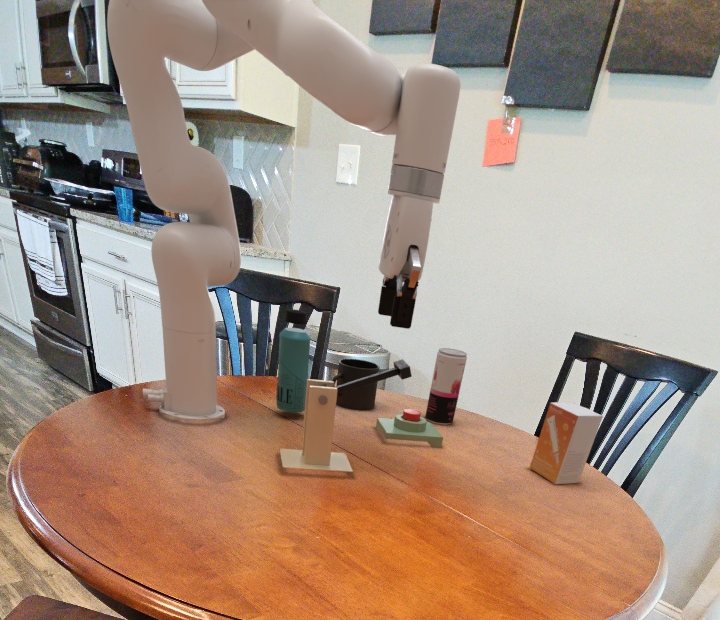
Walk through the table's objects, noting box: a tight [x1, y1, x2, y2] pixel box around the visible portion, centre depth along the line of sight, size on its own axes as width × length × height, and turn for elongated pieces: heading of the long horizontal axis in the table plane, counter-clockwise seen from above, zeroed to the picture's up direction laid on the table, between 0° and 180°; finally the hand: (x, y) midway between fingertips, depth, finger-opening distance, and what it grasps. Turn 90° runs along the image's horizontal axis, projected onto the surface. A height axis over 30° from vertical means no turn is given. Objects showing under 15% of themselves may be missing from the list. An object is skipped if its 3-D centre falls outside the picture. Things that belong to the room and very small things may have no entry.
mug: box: [331, 358, 381, 411], centre depth 135 cm, size 9×12×9 cm
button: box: [402, 408, 422, 422], centre depth 121 cm, size 4×4×2 cm
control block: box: [375, 413, 444, 449], centre depth 123 cm, size 12×10×4 cm
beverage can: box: [424, 347, 468, 426], centre depth 133 cm, size 7×6×15 cm
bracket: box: [279, 378, 354, 473], centre depth 99 cm, size 12×9×14 cm
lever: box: [321, 358, 412, 394], centre depth 96 cm, size 16×5×2 cm, turn 100°
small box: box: [529, 401, 604, 485], centre depth 112 cm, size 8×6×13 cm
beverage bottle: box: [275, 308, 312, 413], centre depth 120 cm, size 6×7×20 cm
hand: (393, 321), depth 93 cm, fingers open, 9 cm apart
